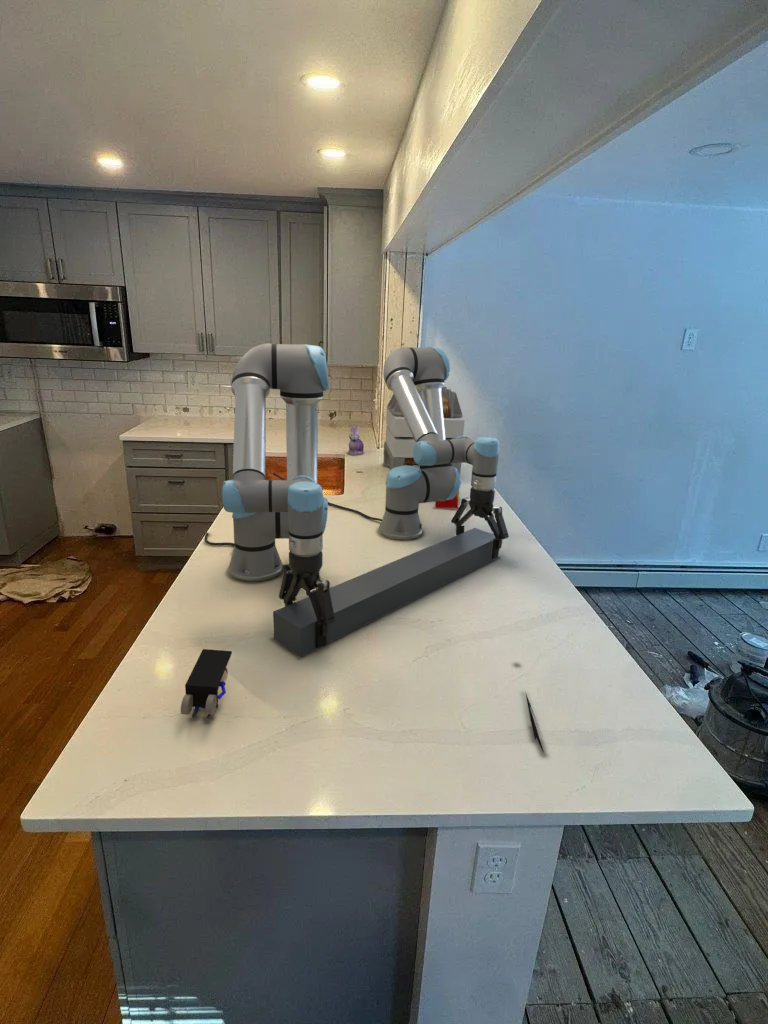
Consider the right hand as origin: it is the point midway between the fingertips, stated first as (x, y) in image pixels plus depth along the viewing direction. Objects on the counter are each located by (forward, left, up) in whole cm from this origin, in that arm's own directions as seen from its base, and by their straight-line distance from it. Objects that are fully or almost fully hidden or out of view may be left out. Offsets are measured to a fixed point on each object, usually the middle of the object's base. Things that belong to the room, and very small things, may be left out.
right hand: (476, 551), depth 182 cm
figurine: (-130, +52, -2) cm, 140 cm away
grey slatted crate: (-82, +54, -2) cm, 99 cm away
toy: (-50, +36, -2) cm, 61 cm away
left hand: (+7, -70, -2) cm, 70 cm away
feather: (+54, -47, -2) cm, 72 cm away
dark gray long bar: (+3, -35, -2) cm, 35 cm away
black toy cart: (+14, -97, -2) cm, 98 cm away
